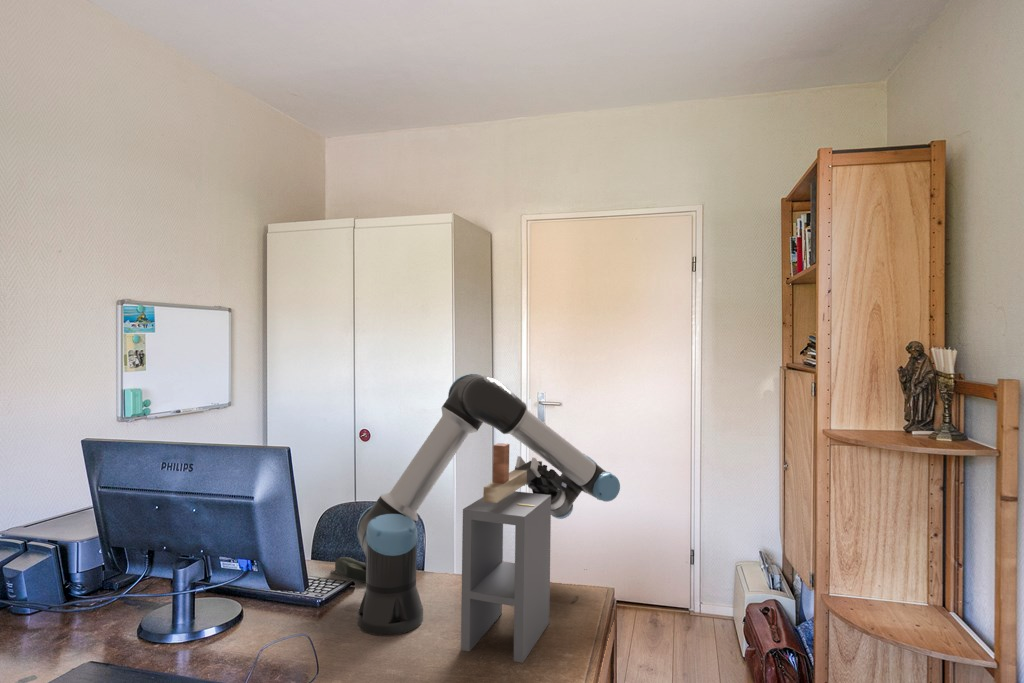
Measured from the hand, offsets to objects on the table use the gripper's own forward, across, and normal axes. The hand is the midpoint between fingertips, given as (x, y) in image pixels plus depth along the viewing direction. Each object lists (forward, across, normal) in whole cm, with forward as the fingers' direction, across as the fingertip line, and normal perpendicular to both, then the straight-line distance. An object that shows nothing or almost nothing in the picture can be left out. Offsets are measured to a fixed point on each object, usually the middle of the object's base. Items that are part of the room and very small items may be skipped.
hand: (525, 462), depth 143 cm
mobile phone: (-22, +52, -30) cm, 64 cm away
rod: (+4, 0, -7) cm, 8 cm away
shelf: (-9, 0, -37) cm, 38 cm away
